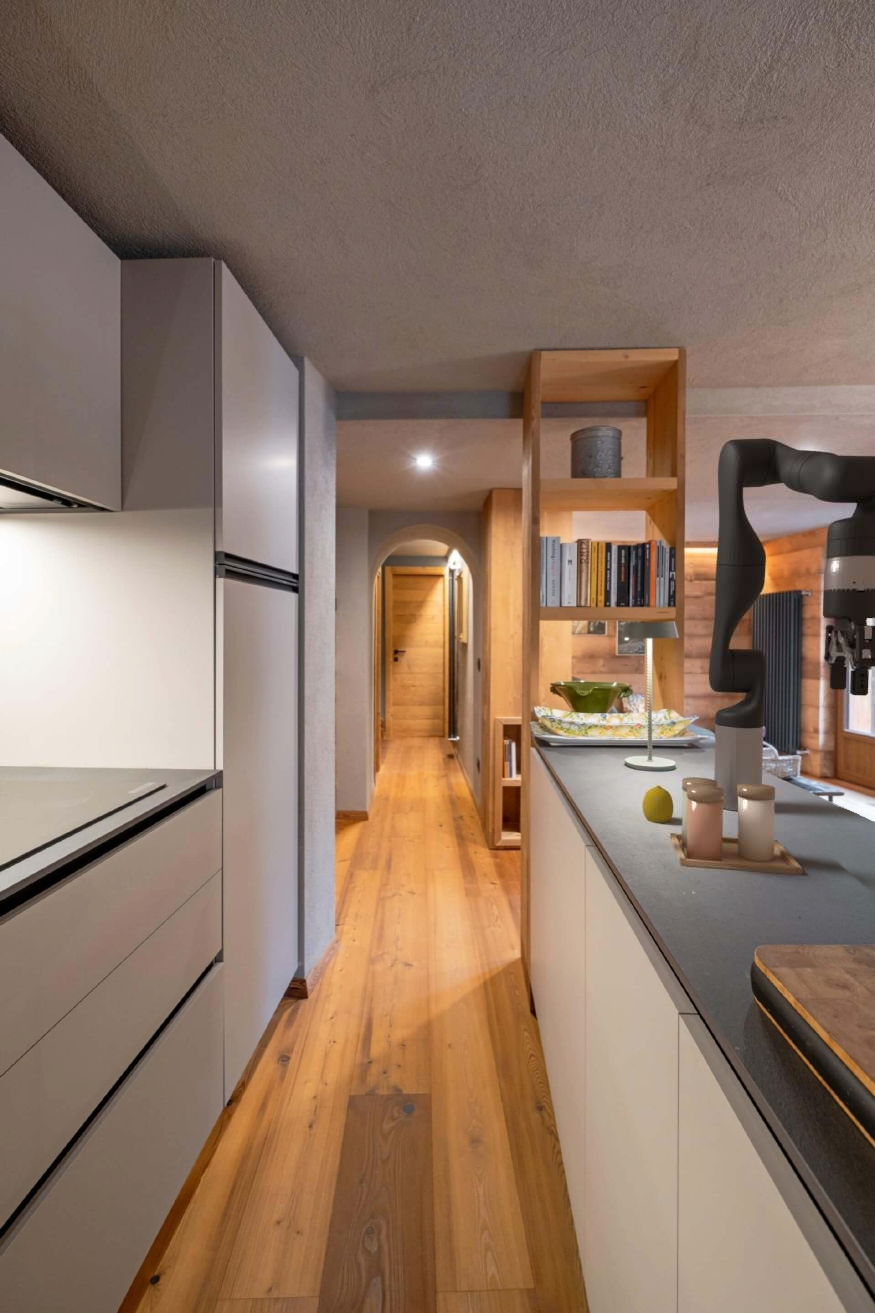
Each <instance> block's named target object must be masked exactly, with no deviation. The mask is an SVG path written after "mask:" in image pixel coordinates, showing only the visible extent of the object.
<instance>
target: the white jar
mask: <svg viewBox="0 0 875 1313" xmlns="http://www.w3.org/2000/svg"><path fill="white" fill-rule="evenodd" d="M737 795H738V811H737V837H738V855H739V856H740V857H742V858H745V859H749V860H754V861H771V860H773V859H774V840H775V799H776V787H774V786H773V785H768V784H763V783H762V784H756V783H743V784H738V785H737Z"/></svg>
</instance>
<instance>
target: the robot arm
mask: <svg viewBox="0 0 875 1313" xmlns="http://www.w3.org/2000/svg"><path fill="white" fill-rule="evenodd" d="M778 484H779V485H780V484H784V486H785V487H787V488H788V489H790V490H791V491H793V492H797V493H799V494H805V495H810V496H813V497H814V498H816V499H817V500H819V501H822V502H826V503H827V502H828V503H834V504H856V506H855V509H854V511H853V513H852V516H851V517H850V516H849V517H845V518H841V519H837V520H835V521H832V522H831V523H830V524H829V526H828V527H827V532H826V557H825V558H826V561H825V567H824V571H823V572H824V573H823V592H822V594H823V595H822V616H823V618H825V619H835V620H834V624H826V626H825V640H824V641H825V643H824V657H823V658H824V661H825V662H827V665H828V666H830V667H829V670H830V671H829V689H831V690H833V691H834V690H845V689H847V679H848V678H847V677H848V676H847V675H848V672H847V671H848V667H847V665H848V664H849V665H850V681H849V682H850V683H849V684H850V685H849V693H850V694H851V695H852V696H863V697H864V696H867V695H869V679H870V678H869V677H870V671H871V670H872V668H873V667H875V625H868V621H867V619H875V455H840V454H839V455H838V454H837V453H833V452H827V451H821V450H820V451H818V450H811V449H810V450H806V449H797V448H793V447H792V446H789V445H787V444H785V443H782V442H781V441H778V440H775V439H772V438H765V437H764V438H741V439H740V438H739V439H738V438H737V439H729V440H728V441H727V442H725V443H724V444H723V446H722V448H721V450H720V453H719V456H718V466H717V487H718V488H717V489H718V490H717V492H718V539H717V549H716V550H717V552H716V565H715V579H714V580H715V588H714V589H715V590H714V592H715V593H714V618H713V619H714V620H713V629H712V637H711V644H710V645H711V647H710V655H709V663H708V664H709V666H708V682H709V687H710V688H711V690H712V691H713V692H716V693H725V694H727V693H729V694H732V693H734V694H745V695H744V697H743V699H742V700H740V701H739V702H738V703H736V704H733V705H731V706H728V707H723V708H722V709H719V710H717V711H716V712H715V719H714V721H715V722H714V723H715V724H714V725H715V726H714V728H715V730H714V772H713V774H714V778H713V780H715V781H717V782H718V787H720V788H722V789H724V801H723V809H725V810H729V811H730V810H731V811H737V812H738V795H737V785H738V784H743V783H756V784H763V761H764V760H763V754H764V751H763V750H764V716H765V715H764V714H765V697H766V686H767V675H768V674H767V673H768V671H767V670H768V669H767V666H768V665H767V664H768V663H767V658H766V655H765V653H764V652H763V651H762V650H760V649H756V648H755V649H751V648H746V649H745V648H730V644H731V641H732V638H733V636H734V633H735V630H736V629H737V627H738V626H739V624H740V622H741V621H742V619H743V617H744V616H745V615H746V614H747V613H748V612H749V610H750V609H751V608H752V606H754V604H755V603H756V601H757V600H758V598H759V597H760V595H761V594H762V592H763V589H764V588H765V587H764V586H765V582H766V581H765V580H766V570H767V569H766V567H767V566H766V565H767V554H766V551H765V547H764V545H763V543H762V542H761V540H760V538H759V535H758V534H757V532H756V531H755V529H754V528H753V526H752V524H751V523H750V520H749V519H748V515H747V513H746V510H745V502H744V489H745V488H761V487H765V486H770V485H778ZM848 662H849V663H848Z"/></svg>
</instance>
